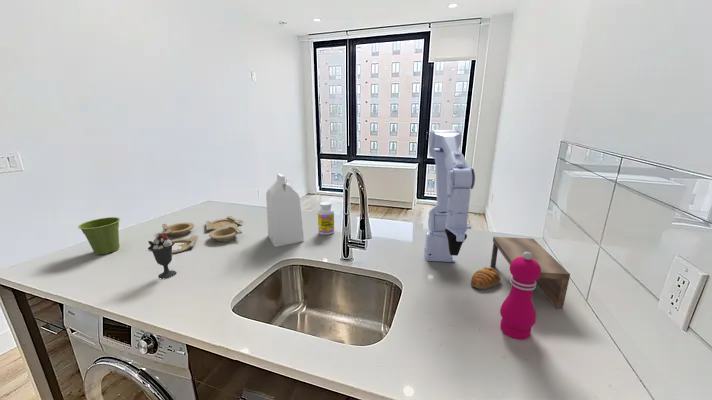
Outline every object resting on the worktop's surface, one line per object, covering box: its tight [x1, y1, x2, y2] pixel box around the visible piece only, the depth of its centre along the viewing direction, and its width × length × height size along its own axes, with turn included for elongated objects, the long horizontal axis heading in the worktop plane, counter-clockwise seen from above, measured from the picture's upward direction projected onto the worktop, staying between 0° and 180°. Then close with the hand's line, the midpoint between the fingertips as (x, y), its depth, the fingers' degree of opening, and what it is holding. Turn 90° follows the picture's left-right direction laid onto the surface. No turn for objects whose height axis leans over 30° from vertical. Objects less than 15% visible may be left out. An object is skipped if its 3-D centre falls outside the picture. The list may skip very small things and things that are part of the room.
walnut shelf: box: [490, 236, 571, 310], centre depth 88 cm, size 12×22×10 cm, turn 172°
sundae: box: [147, 229, 177, 280], centre depth 94 cm, size 7×7×15 cm
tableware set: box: [161, 215, 244, 255], centre depth 126 cm, size 35×29×4 cm
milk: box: [265, 173, 305, 247], centre depth 119 cm, size 12×12×26 cm
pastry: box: [470, 266, 502, 290], centre depth 90 cm, size 9×7×4 cm
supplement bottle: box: [317, 201, 335, 236], centre depth 127 cm, size 7×7×13 cm
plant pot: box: [77, 216, 121, 256], centre depth 112 cm, size 12×12×11 cm
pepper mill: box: [499, 252, 541, 341], centre depth 68 cm, size 7×7×20 cm
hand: (453, 254), depth 90 cm, fingers closed
